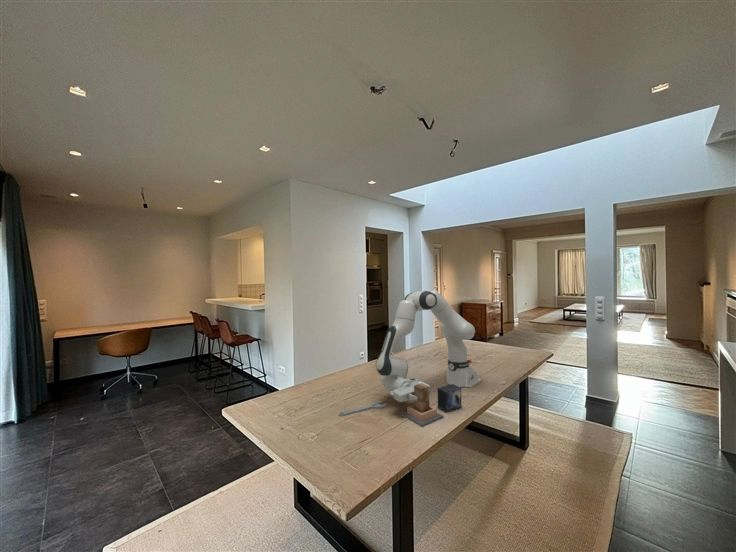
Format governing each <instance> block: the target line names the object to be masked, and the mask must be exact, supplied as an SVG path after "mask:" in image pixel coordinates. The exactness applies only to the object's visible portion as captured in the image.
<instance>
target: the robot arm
mask: <svg viewBox="0 0 736 552" xmlns="http://www.w3.org/2000/svg"><path fill="white" fill-rule="evenodd" d="M428 310H429V311H431V312H432V314H433V315H434V316H435V318H436V319H437V320H438V321H439V322H440V327H439V328H440V330H441V333H442V334H443V335H444V338H445V341H446V344H447V351H448V359H447V365H448V366H447V370H446V371H447V373H446V377H445V380H446V384H448V385H451V384H454V385H456V386H458V387H460V388H465V387H466V388H472V387H474V386H475V385H477V384H479V383H481V381H482V378H480V377H478V373H477V371H476V370H475V368H473V367H471V365H470V364H472V363H473V362H472V360H471V359H468V349H467V348H468V347H467V346H466V345H465V343H464V341H463V340H465V341H466V340H467V341H468V340H471V339H473V338H474V336H475V333H476V329H475V326H474V325H473V324H472V323H470V322H468V321H467V320H466V319H465V318H463V317H462V316H461V315H460V314H459V313H458V312H456V311H455V310H454V308H453V307H452V305H451V304H450V303H449V302H448V301H447V300H446V298H445V297H444V296H443V295H442V294H441V293H440V292H438V291H437V290H434V289H432V290H423V291H415V292H414V291H413V292H410V293H408V294H406V295H405V297H404V299H403V300H401V301H399V304H398V305H397V309H396V312H395V315H394V316H395V317H394V321H393V324H392V325H391V326H389V327H388V330H387V331H386V334H385V337H384V340H383V344H382V347H381V349H380V353H379V354H378V357H377V360H376V362H375V369H376V371H377V373H378V374H379V375H380V376H381V378H380V382H381V385H382V387H384V388H385V389H386V390H388V391H390V392H389V395H390V396H391V397H393V399H394V400H395V401H397V402H399V403H403V402H406V401H409V400H411V401H414V400H416V401H418V400H419V396H417V395H416V396H414V386H415V385H418V384H421V383H422V384H424V385H427V386H429V394H430V392H431V386H430V384H428V383H426V382H424V381H420V380H418V379H417V378H407V375H408V372H409V364H408V362H407V360H406V359H405V358H401V357H393V356H392V352H393V350H394V345H395V342H396V341H397V340H398V339H399V338H401V337H405V336H408V335H410V334H411V333H412V332H413V330H414V327H415V319H416V314H417V312H419V311H428Z"/></svg>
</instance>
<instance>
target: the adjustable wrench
mask: <svg viewBox="0 0 736 552" xmlns="http://www.w3.org/2000/svg"><path fill="white" fill-rule="evenodd" d="M386 407H387V403H386V402H385V403H383V404H382V401H381V400H379V401H373V402H372V403H371V404H368V405H364V406H361V407H357V408H352V409H347V410H343V411H340V412H339V413H338V416H339V417H345V416H348V415H353V414H358V413H362V412H365V411H369V410H377V409H379V410H380V409H385V408H386Z"/></svg>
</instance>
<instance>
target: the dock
mask: <svg viewBox="0 0 736 552" xmlns="http://www.w3.org/2000/svg"><path fill="white" fill-rule="evenodd" d="M429 408H430V410H429V411H426V412H424V413H421V412H419V411H417V410H415V409H414V404H413V405H409V406H407V410H406V411H402V412H401V413H400V414H401V416H402V415H403V417H404V418H405V419H407V418H408V420H409V421H411V422H412V421H413V423H414V424H416V425H417V424H418V425H417V426H419V425H420V426H419V427H421V428H423V427H425V425H426V426H428V425H430V424H433V423H435V422H438V421H440V420H442V419H444V417H445V416H444V415H443V414H441V413H439V412H438V408H436V407H434V406H432V405H430V404H429ZM439 419H440V420H439ZM437 420H438V421H437Z"/></svg>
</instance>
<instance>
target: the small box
mask: <svg viewBox="0 0 736 552" xmlns="http://www.w3.org/2000/svg"><path fill="white" fill-rule="evenodd" d="M462 407H463V406H462V387H458V386H456V385H454V384H451V385H449V384H448V385H444V386H443V385H442V386H438V387H437V409H439V410H440V411H442V412H444V413H449V412H453V410H454V411H456V409H457V410H460V408H461V409H462Z"/></svg>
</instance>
